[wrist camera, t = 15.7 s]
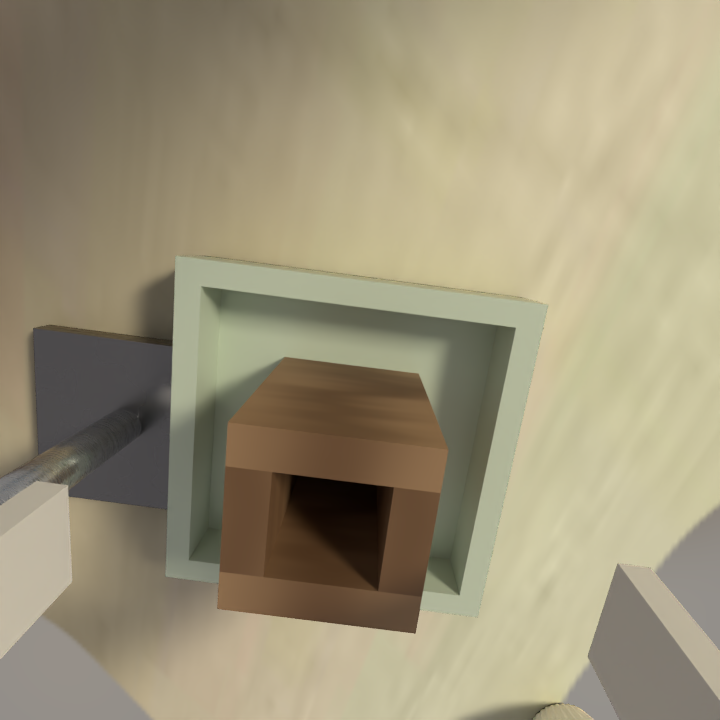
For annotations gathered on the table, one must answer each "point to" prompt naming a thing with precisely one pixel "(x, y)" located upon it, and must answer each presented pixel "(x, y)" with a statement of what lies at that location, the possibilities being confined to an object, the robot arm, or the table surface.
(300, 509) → the bore block
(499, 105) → the table surface
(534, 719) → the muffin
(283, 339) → the tray
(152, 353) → the pin
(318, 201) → the table surface
